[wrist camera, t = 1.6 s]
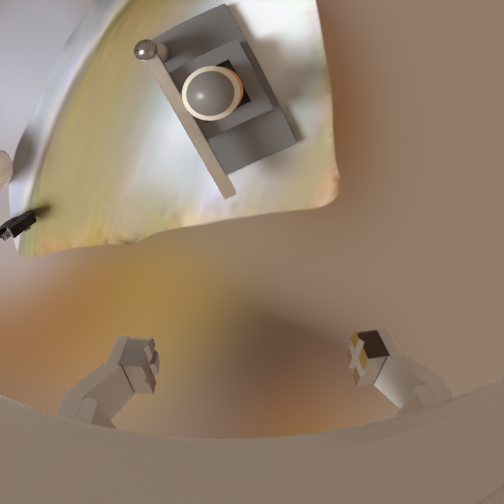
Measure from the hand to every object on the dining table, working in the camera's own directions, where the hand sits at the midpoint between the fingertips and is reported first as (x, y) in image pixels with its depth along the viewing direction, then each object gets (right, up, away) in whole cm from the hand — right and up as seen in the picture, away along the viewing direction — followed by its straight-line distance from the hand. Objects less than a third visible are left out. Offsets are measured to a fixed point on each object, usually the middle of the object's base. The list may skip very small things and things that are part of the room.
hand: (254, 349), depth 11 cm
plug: (-4, +21, +15) cm, 26 cm away
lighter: (-35, +9, +22) cm, 42 cm away
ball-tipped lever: (-6, +17, +14) cm, 22 cm away
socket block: (-4, +21, +16) cm, 27 cm away
